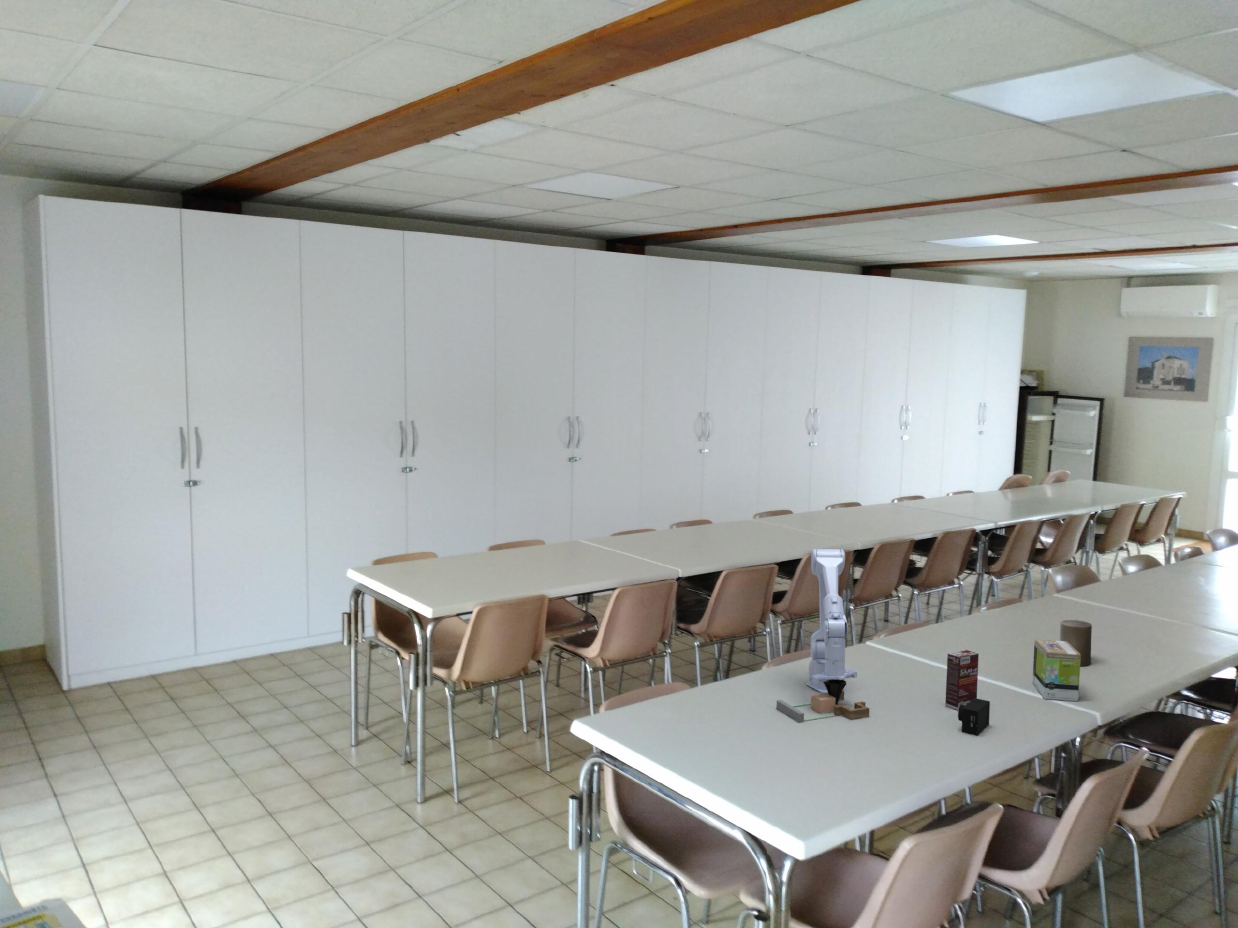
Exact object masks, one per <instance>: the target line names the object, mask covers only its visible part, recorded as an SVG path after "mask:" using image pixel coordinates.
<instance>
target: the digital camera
mask: <svg viewBox="0 0 1238 928" xmlns="http://www.w3.org/2000/svg"><path fill="white" fill-rule="evenodd" d="M990 705H991V701H989V700H987V699H986V700H985V699H982V698H981V699H980V698H978V697H977V698H974V699H973V700H972V701H970V702H969V703H968V704H967V705H966V706H965V705H960V707H959V710H957V718H958V719H957V720H958V721H959V722H961V733H963V734H966V735H967V734H968V735H971V736H974V737H975V736H976V737H977V736H979V735H980V734H981V733H983V732H984V730H985V729H986V728H988V726H990V714H991V713H990V710H991V709H990V708H991V707H990Z"/></svg>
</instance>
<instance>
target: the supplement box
mask: <svg viewBox="0 0 1238 928" xmlns="http://www.w3.org/2000/svg"><path fill="white" fill-rule="evenodd" d="M946 660H947V661H946V681H945V682H946V684H945V704H944V705H945V706H946V707H948V708H950V709H953V710H956V711H958V710H959V707H960V705H965V706H966V705H967V704H968V703H969V702H970V701H972V700H973V699H974V698H977V699H978V677H979V676H978V675H979V653H977V652H974V651H972V650H968V649H965V650H960V651H956V652H951V653H947V659H946Z"/></svg>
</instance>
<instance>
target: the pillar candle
mask: <svg viewBox="0 0 1238 928" xmlns="http://www.w3.org/2000/svg"><path fill="white" fill-rule="evenodd" d="M1092 629H1093V625H1092V623H1090V622H1087V621H1083V620H1077V619H1076V620H1075V619H1068V620H1067V619H1064V620H1061V621H1060V629H1059V632H1060V633H1059V641H1067V642H1068V643H1069V644H1070V645H1071V646H1072V647H1073V648H1074V649H1075V650H1077V651H1078V652H1079V653H1080V654H1081V661H1080V667H1089V666H1091V663H1092V662H1091V661H1092V660H1091V659H1092V632H1093V631H1092Z"/></svg>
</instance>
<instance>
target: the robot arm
mask: <svg viewBox="0 0 1238 928" xmlns="http://www.w3.org/2000/svg"><path fill="white" fill-rule="evenodd" d="M810 554H811V556H810V560H811V561H810V564H811V565H810V566H811V568H810V569H811V574H812V575H814V576H815V577H817V580H818V588H819V591H818V592H819V596H818V597H819V601H818V602H819V629H818V630H816V631H815V632H813V633H812V634H811V636H810V657H811V660H810V661H809V664H808V682H806V685H807V686H808V687H810V688H812V689H813V690H816V691H817V692H819V693H828V694H829V695H831V696H833V697H834V698H835V706H838V704H839V699H840V695H841V693H842V691H844V692H845V689H844V688H845V687H847V681H846V679H851V678H853V679H856V678H858V671H857V670H854V669H846V668H845V667H846V665H845V664H846V639H847V637H848V633H849V625H848V621H847V618H846V617H847V616H846V615H845V611H844V599H843V598H842V597H841V596H840V595H839V576H841V574H842V573H843V571H844V568H845V567H846V566H845V564H846V553H845V550H843V548H839V549H838V548H832V549H831V548H830V549H829V548H828V549H827V548H823V549H822V548H812V550H811V553H810Z"/></svg>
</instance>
